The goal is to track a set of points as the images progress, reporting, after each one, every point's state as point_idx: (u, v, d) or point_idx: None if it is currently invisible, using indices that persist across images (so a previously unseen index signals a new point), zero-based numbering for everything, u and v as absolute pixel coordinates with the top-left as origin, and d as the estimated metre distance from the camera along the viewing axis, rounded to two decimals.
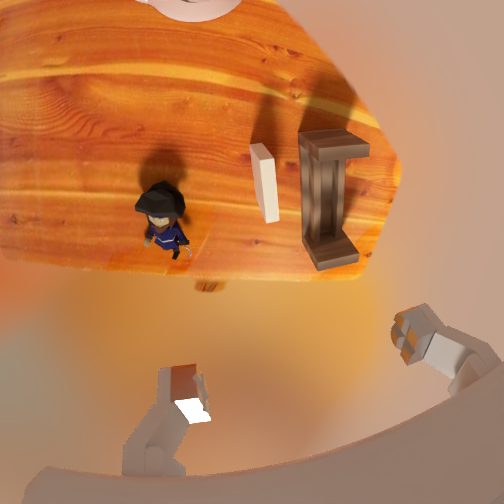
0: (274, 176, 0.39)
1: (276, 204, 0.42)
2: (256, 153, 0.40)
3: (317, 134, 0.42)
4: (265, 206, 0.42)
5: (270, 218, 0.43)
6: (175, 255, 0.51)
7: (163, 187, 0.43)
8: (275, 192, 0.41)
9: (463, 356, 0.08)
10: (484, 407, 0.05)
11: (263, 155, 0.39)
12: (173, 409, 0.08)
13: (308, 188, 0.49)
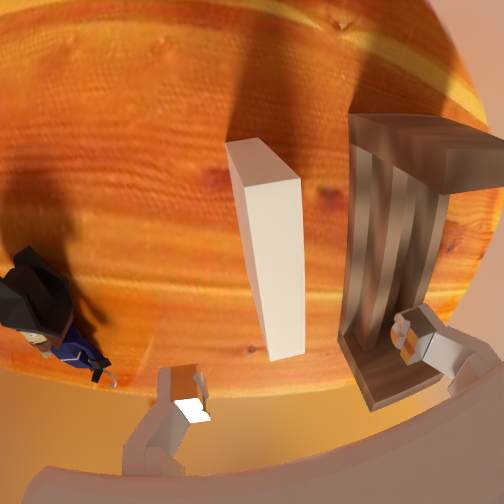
0: (298, 243, 0.11)
1: (300, 320, 0.14)
2: (238, 163, 0.12)
3: (400, 119, 0.14)
4: (267, 327, 0.14)
5: (280, 351, 0.15)
6: (96, 375, 0.23)
7: (29, 261, 0.16)
8: (299, 291, 0.13)
9: (463, 356, 0.08)
10: (484, 407, 0.05)
11: (260, 168, 0.11)
12: (173, 409, 0.08)
13: (365, 249, 0.21)
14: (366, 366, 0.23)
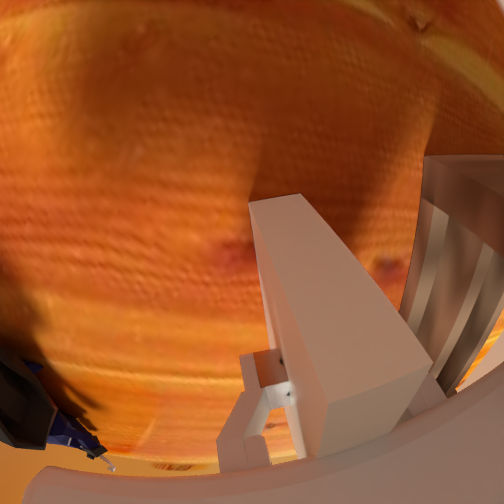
0: (387, 427, 0.05)
1: None
2: (289, 282, 0.06)
3: (493, 171, 0.09)
4: None
5: None
6: None
7: None
8: None
9: None
10: (484, 407, 0.05)
11: (342, 313, 0.05)
12: (263, 395, 0.08)
13: (418, 326, 0.15)
14: None
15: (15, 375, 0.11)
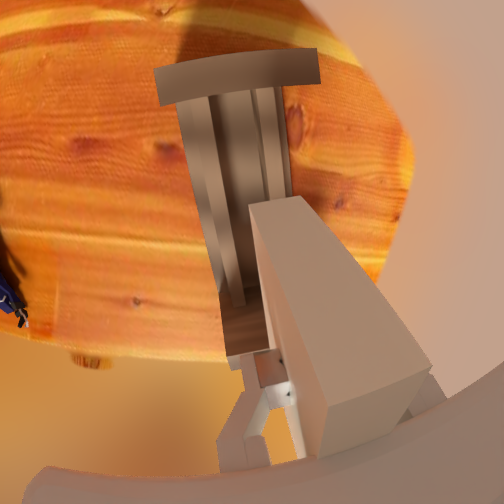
0: (387, 428, 0.05)
1: None
2: (289, 285, 0.07)
3: None
4: None
5: None
6: (20, 321, 0.25)
7: None
8: None
9: None
10: (484, 407, 0.05)
11: (342, 317, 0.05)
12: (264, 395, 0.08)
13: (208, 196, 0.23)
14: (230, 321, 0.25)
15: None
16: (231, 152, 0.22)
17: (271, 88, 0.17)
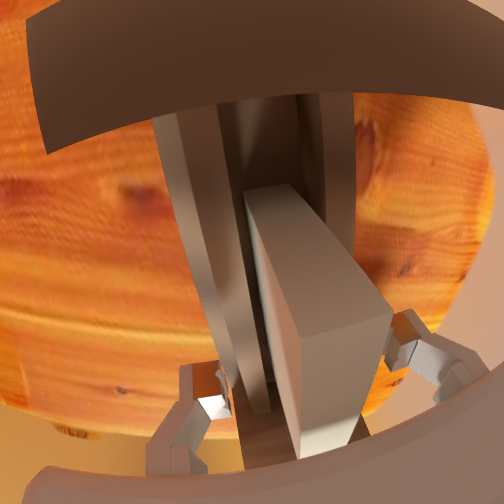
0: (364, 384, 0.07)
1: (344, 439, 0.09)
2: (273, 250, 0.08)
3: None
4: (303, 451, 0.09)
5: None
6: None
7: None
8: (352, 421, 0.08)
9: (448, 364, 0.08)
10: (484, 407, 0.05)
11: (316, 273, 0.07)
12: (196, 406, 0.08)
13: None
14: (251, 438, 0.16)
15: None
16: None
17: None
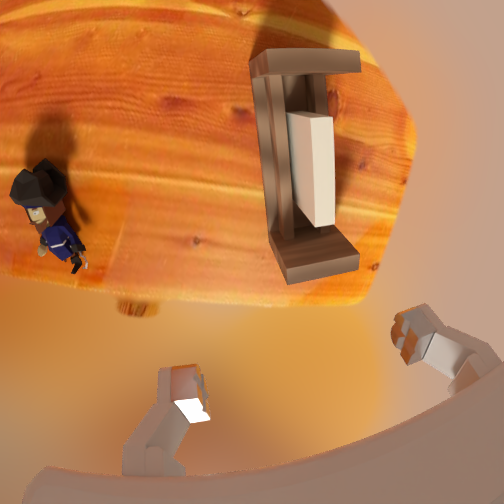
0: (331, 147, 0.23)
1: (332, 196, 0.25)
2: (300, 115, 0.24)
3: None
4: (315, 198, 0.25)
5: (321, 219, 0.26)
6: (75, 268, 0.32)
7: (43, 168, 0.25)
8: (332, 175, 0.24)
9: (463, 356, 0.08)
10: (484, 407, 0.05)
11: (313, 115, 0.23)
12: (173, 409, 0.08)
13: (270, 149, 0.30)
14: (284, 248, 0.32)
15: None
16: None
17: (322, 75, 0.24)
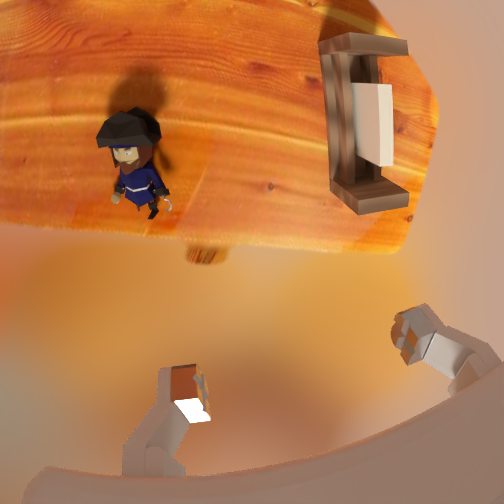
0: (391, 106, 0.27)
1: (391, 142, 0.30)
2: (365, 83, 0.28)
3: None
4: (380, 143, 0.30)
5: (384, 160, 0.31)
6: (152, 214, 0.37)
7: (134, 115, 0.30)
8: (391, 127, 0.29)
9: (463, 356, 0.08)
10: (484, 407, 0.05)
11: None
12: (173, 409, 0.08)
13: (335, 110, 0.34)
14: (350, 188, 0.36)
15: None
16: None
17: (375, 56, 0.28)
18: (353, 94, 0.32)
